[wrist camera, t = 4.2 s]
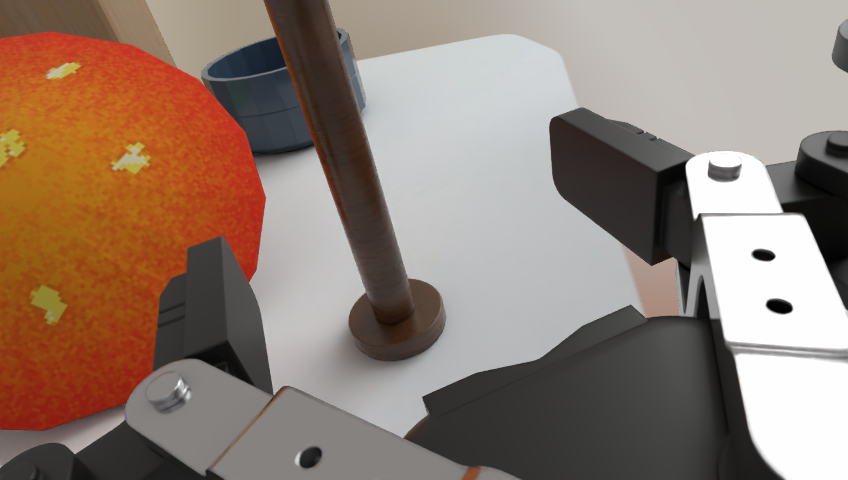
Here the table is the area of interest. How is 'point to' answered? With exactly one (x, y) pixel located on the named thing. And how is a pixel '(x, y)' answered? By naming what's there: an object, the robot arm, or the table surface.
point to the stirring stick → (354, 186)
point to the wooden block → (86, 21)
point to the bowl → (268, 94)
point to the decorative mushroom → (104, 215)
